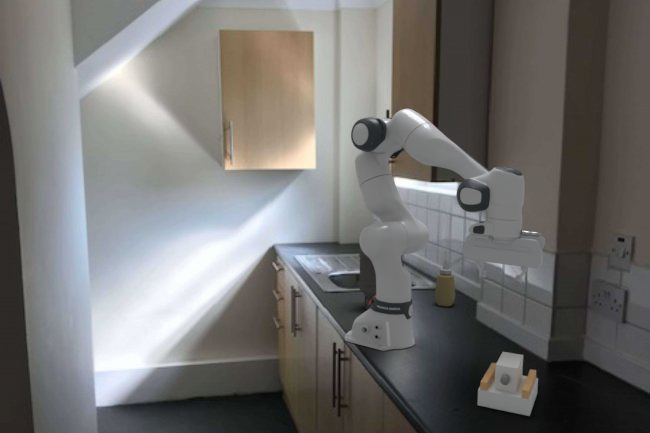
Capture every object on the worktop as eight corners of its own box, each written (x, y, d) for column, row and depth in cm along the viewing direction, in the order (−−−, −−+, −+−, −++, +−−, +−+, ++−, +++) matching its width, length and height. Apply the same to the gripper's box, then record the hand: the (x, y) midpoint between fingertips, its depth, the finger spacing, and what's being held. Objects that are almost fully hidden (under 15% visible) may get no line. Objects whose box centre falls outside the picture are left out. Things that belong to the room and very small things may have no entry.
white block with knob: (501, 374, 146) (502, 351, 145) (522, 377, 144) (523, 354, 143) (493, 391, 136) (494, 366, 135) (515, 395, 134) (516, 370, 133)
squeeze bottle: (455, 308, 221) (457, 262, 219) (434, 307, 222) (435, 261, 220) (454, 302, 229) (456, 258, 227) (434, 301, 230) (435, 258, 228)
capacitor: (381, 315, 210) (383, 235, 207) (351, 309, 218) (352, 232, 215) (400, 307, 221) (402, 231, 217) (370, 302, 229) (372, 228, 225)
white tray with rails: (477, 405, 137) (478, 381, 137) (489, 384, 150) (490, 362, 149) (529, 416, 132) (531, 391, 131) (537, 393, 144) (538, 370, 144)
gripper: (547, 231, 148) (542, 282, 150) (468, 223, 157) (465, 272, 159) (544, 234, 142) (539, 288, 144) (463, 226, 152) (459, 276, 154)
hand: (500, 279), depth 152 cm, fingers open, 8 cm apart
